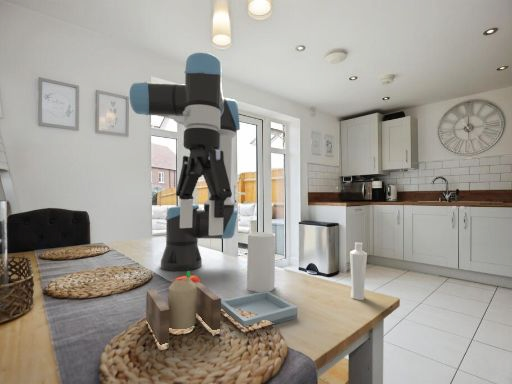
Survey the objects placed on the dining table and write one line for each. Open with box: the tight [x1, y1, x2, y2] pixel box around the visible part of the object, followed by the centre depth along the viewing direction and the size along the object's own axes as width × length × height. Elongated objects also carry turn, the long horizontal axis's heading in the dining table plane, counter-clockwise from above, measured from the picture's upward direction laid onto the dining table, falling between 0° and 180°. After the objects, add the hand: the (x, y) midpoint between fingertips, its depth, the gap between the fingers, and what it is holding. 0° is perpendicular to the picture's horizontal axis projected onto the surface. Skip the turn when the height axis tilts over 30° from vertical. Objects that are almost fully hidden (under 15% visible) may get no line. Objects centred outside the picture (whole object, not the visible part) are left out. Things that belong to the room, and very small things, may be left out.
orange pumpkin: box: [172, 270, 202, 284], centre depth 75 cm, size 7×8×6 cm
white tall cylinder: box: [246, 231, 276, 293], centre depth 82 cm, size 8×8×16 cm
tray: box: [221, 291, 298, 327], centre depth 63 cm, size 12×14×2 cm
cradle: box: [145, 282, 222, 345], centre depth 56 cm, size 12×12×7 cm
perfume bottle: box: [349, 242, 368, 301], centre depth 75 cm, size 5×4×15 cm
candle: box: [167, 278, 197, 329], centre depth 56 cm, size 6×6×10 cm
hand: (199, 231), depth 57 cm, fingers open, 13 cm apart
